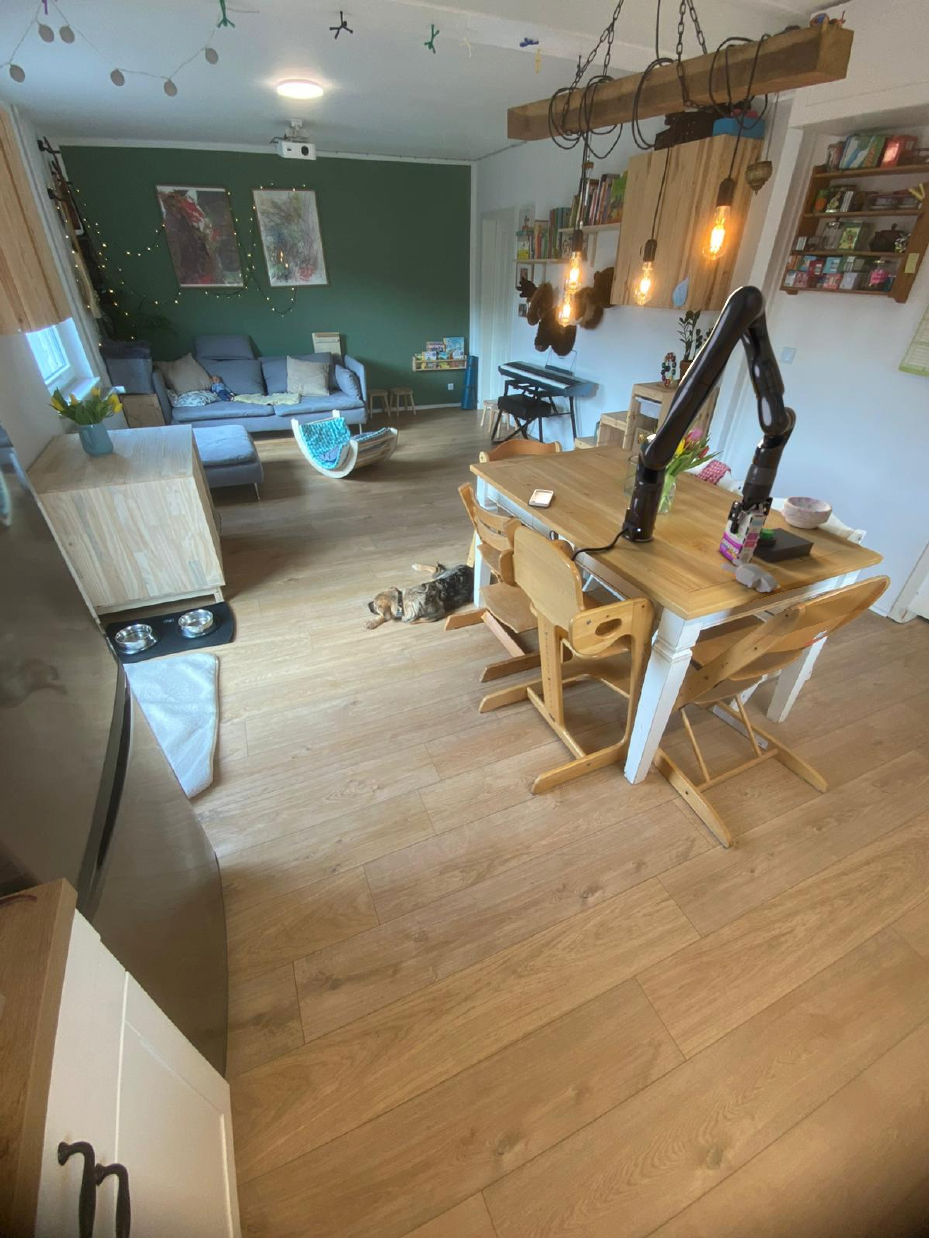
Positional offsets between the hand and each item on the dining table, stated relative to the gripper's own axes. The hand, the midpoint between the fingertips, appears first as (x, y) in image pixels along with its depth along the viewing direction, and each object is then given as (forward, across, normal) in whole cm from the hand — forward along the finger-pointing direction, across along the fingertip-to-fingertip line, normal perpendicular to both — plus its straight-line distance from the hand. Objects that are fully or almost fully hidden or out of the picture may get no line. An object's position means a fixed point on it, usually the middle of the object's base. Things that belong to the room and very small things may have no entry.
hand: (743, 531), depth 164 cm
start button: (+4, -11, 0) cm, 11 cm away
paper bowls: (+10, -46, -12) cm, 48 cm away
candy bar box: (+9, 0, 0) cm, 9 cm away
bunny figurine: (+9, +10, +14) cm, 19 cm away
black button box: (+9, -16, 0) cm, 19 cm away
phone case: (+8, +33, -67) cm, 75 cm away
